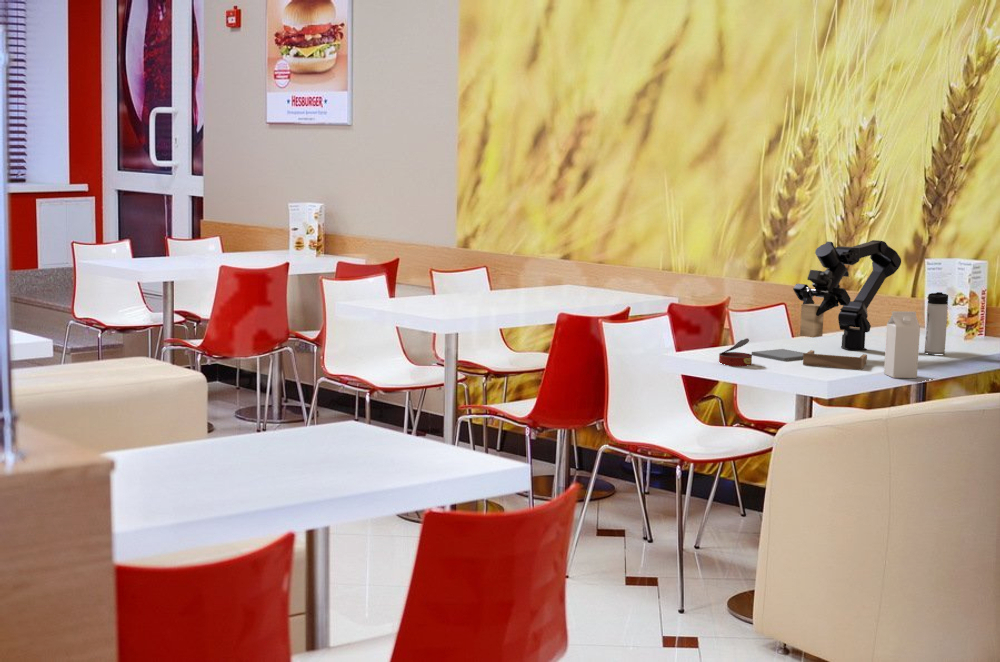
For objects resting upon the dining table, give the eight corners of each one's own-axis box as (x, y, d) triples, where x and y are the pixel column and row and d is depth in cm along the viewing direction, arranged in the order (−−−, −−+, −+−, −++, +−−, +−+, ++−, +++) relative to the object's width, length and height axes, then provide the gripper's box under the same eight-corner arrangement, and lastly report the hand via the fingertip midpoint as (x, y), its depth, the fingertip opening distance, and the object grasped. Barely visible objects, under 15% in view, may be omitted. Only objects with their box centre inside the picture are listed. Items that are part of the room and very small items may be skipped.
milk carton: (883, 374, 377) (887, 310, 374) (907, 374, 377) (911, 310, 375) (893, 378, 370) (897, 313, 367) (917, 378, 370) (921, 313, 368)
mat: (782, 351, 417) (782, 348, 417) (815, 357, 405) (815, 354, 405) (751, 355, 409) (751, 351, 409) (783, 361, 398) (784, 358, 398)
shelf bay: (810, 359, 402) (810, 348, 401) (866, 364, 395) (867, 352, 394) (802, 364, 391) (803, 353, 391) (860, 369, 384) (861, 358, 384)
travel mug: (945, 353, 420) (949, 292, 417) (943, 356, 414) (947, 294, 411) (925, 352, 422) (929, 291, 420) (923, 354, 416) (927, 293, 414)
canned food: (731, 381, 387) (719, 353, 384) (719, 372, 397) (707, 345, 394) (764, 364, 388) (752, 336, 385) (751, 355, 397) (739, 328, 394)
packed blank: (809, 334, 412) (810, 303, 411) (822, 336, 409) (824, 305, 407) (799, 335, 409) (801, 304, 408) (813, 337, 405) (814, 306, 404)
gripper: (797, 258, 415) (775, 294, 410) (847, 263, 401) (824, 300, 396) (811, 281, 421) (789, 317, 416) (860, 286, 407) (838, 323, 402)
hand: (809, 314), depth 407 cm, fingers closed on packed blank, 5 cm apart
